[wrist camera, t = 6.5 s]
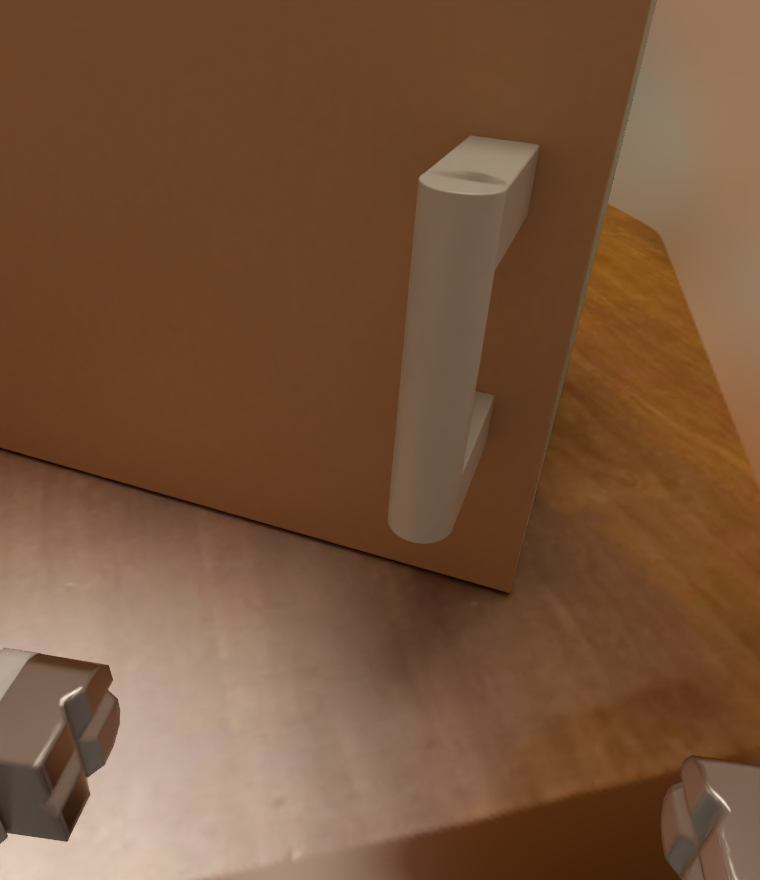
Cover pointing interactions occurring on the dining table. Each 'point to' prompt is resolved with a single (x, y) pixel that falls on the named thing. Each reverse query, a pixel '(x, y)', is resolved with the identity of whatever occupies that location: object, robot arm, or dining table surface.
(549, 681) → the dining table surface
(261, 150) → the door
